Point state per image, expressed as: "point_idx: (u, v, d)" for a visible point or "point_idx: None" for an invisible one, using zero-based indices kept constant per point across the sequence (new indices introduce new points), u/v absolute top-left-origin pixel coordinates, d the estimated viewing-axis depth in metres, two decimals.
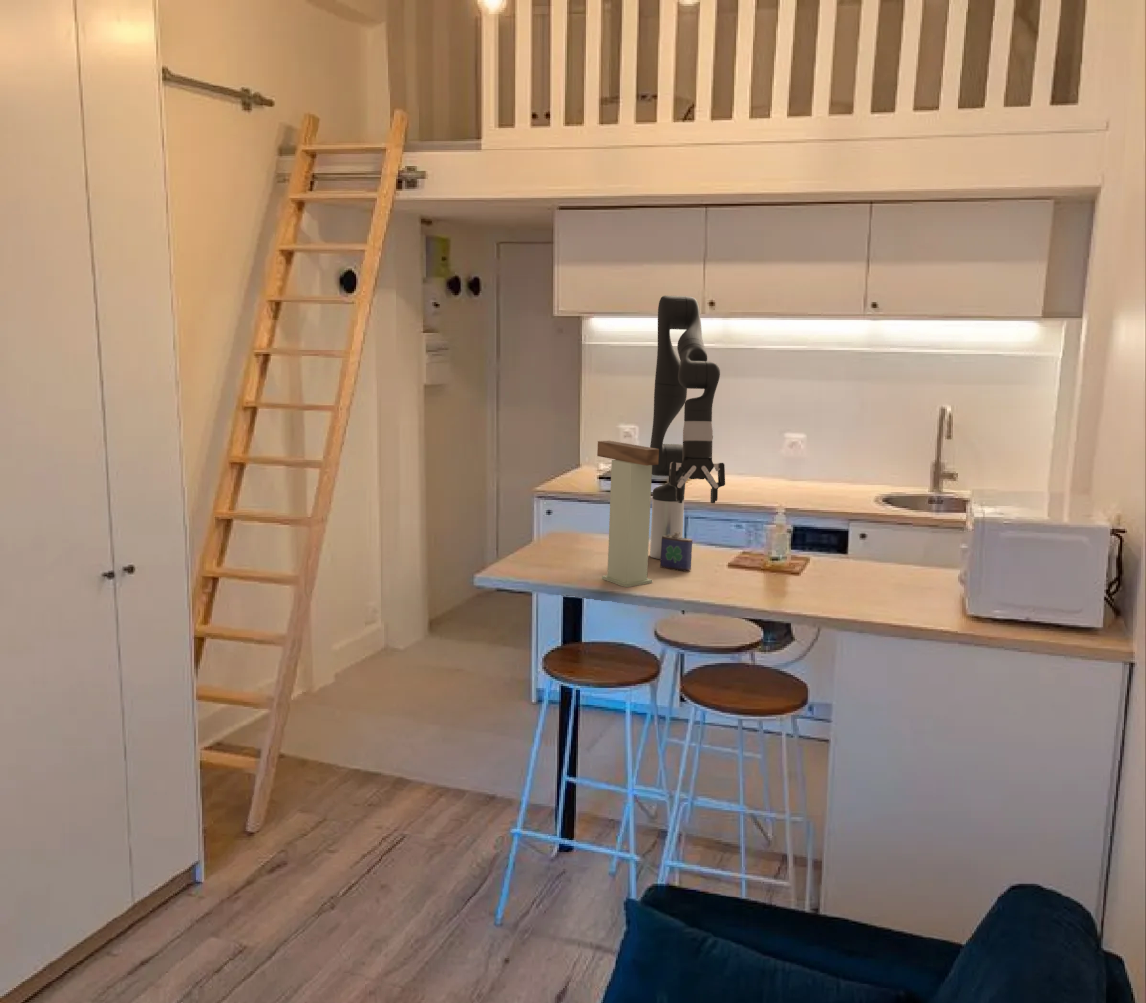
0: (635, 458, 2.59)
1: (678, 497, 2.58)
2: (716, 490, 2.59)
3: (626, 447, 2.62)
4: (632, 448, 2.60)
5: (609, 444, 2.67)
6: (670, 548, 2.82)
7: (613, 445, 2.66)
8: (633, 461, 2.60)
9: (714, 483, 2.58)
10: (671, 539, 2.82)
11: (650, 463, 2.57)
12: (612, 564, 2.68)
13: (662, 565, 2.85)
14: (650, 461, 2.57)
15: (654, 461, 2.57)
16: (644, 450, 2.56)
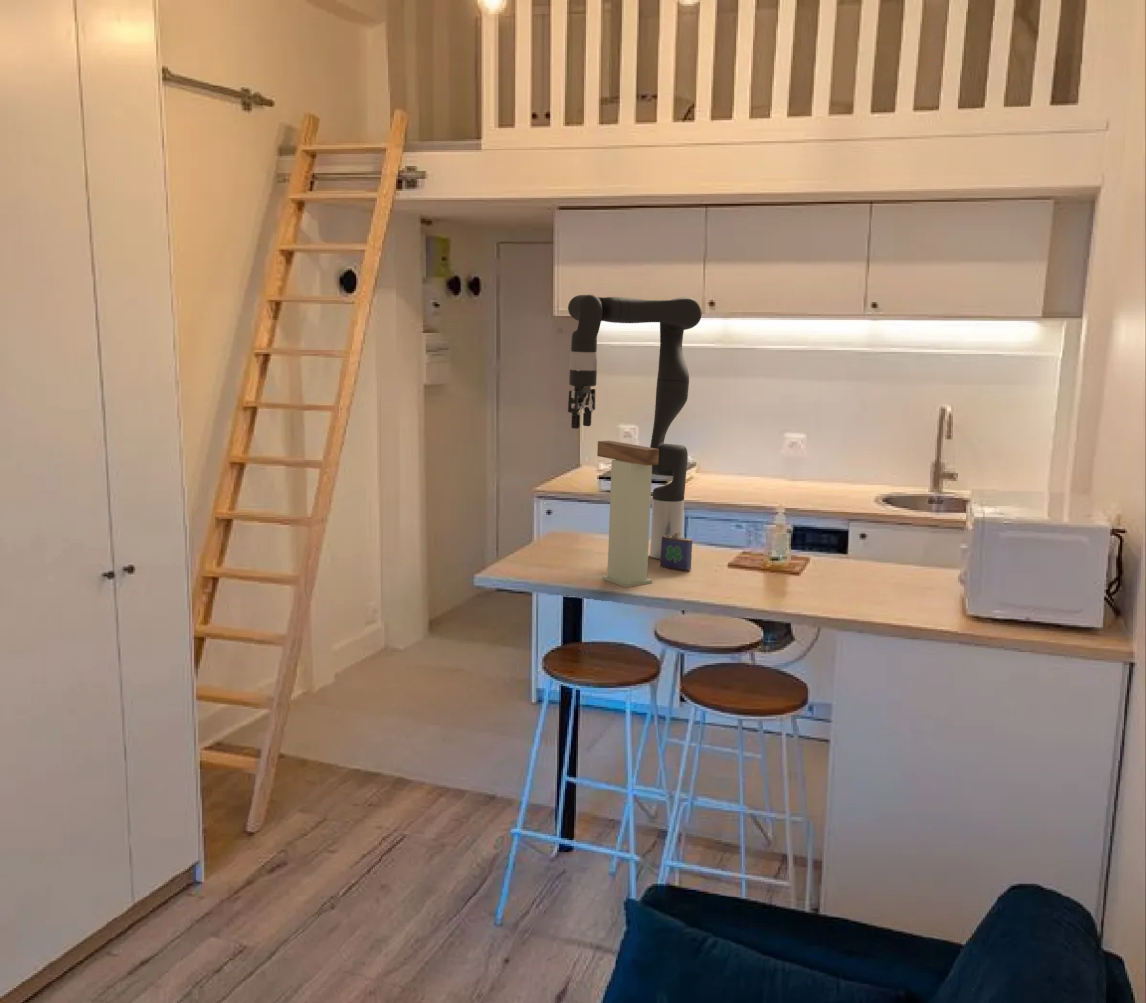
0: (635, 458, 2.59)
1: (577, 423, 2.78)
2: (590, 414, 2.86)
3: (626, 447, 2.62)
4: (632, 448, 2.60)
5: (609, 444, 2.67)
6: (670, 548, 2.82)
7: (613, 445, 2.66)
8: (633, 461, 2.60)
9: (591, 408, 2.85)
10: (671, 539, 2.82)
11: (650, 463, 2.57)
12: (612, 564, 2.68)
13: (662, 565, 2.85)
14: (650, 461, 2.57)
15: (654, 461, 2.57)
16: (644, 450, 2.56)
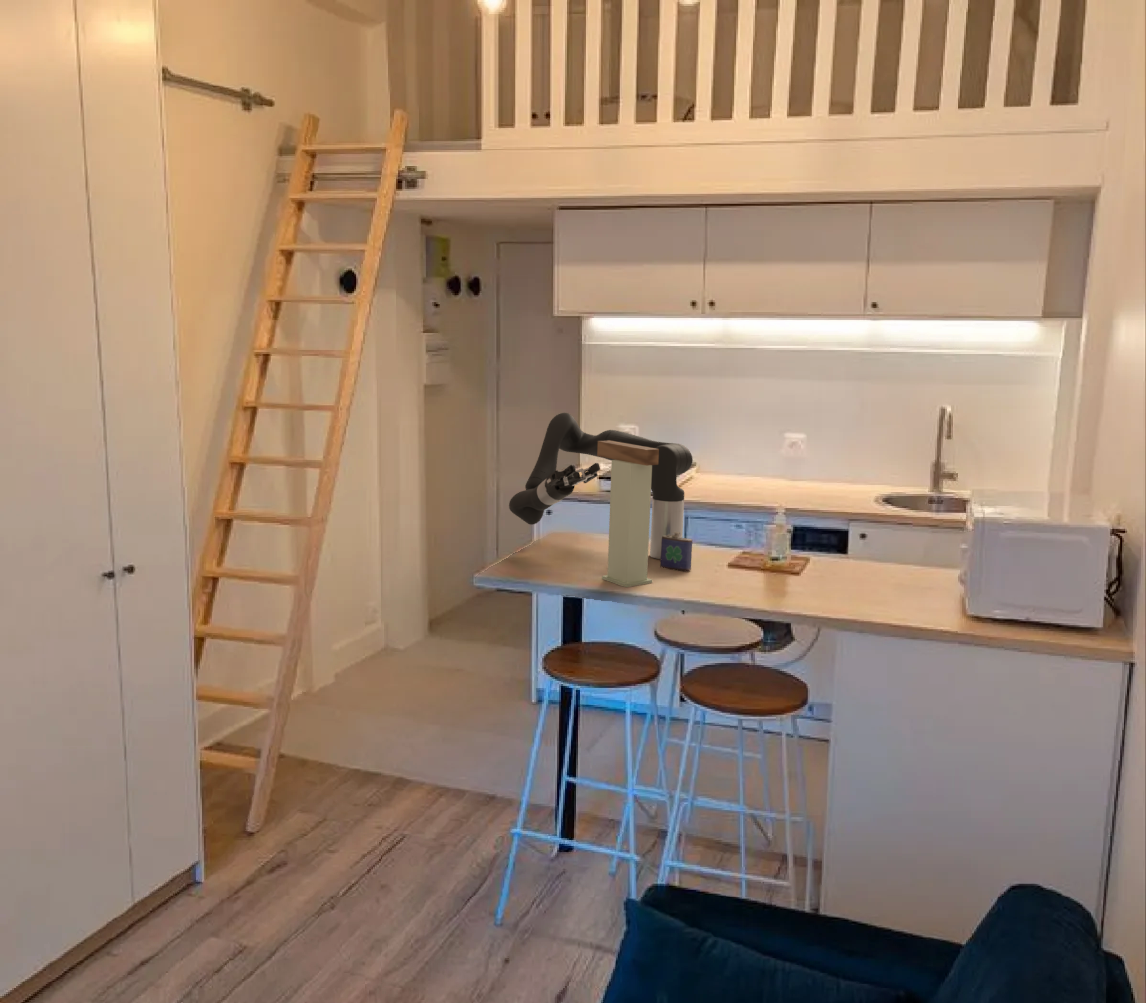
0: (635, 458, 2.59)
1: None
2: None
3: (626, 447, 2.62)
4: (632, 448, 2.60)
5: (609, 444, 2.67)
6: (670, 548, 2.82)
7: (613, 445, 2.66)
8: (633, 461, 2.60)
9: None
10: (671, 539, 2.82)
11: (650, 463, 2.57)
12: (612, 564, 2.68)
13: (662, 565, 2.85)
14: (650, 461, 2.57)
15: (654, 461, 2.57)
16: (644, 450, 2.56)
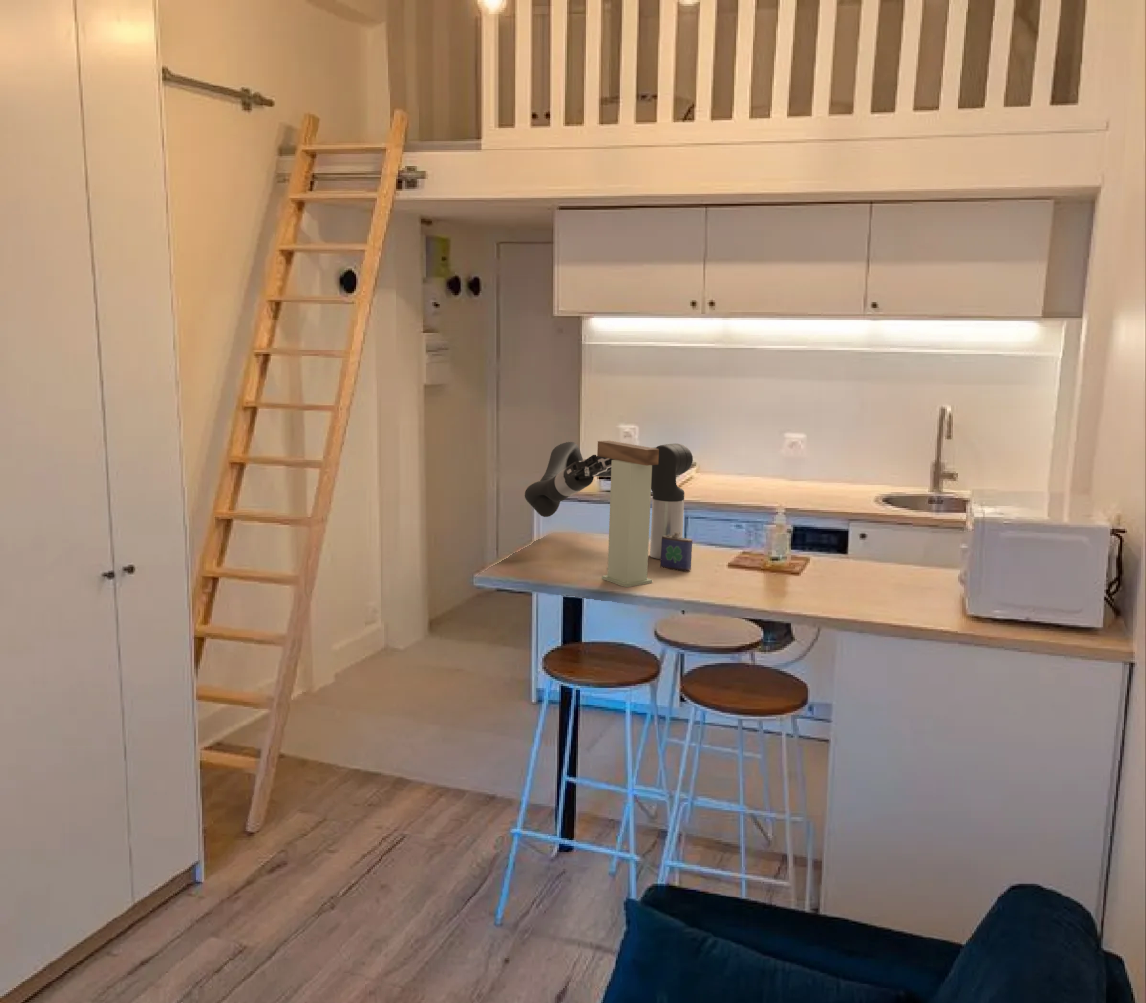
0: (635, 458, 2.59)
1: None
2: None
3: (626, 447, 2.62)
4: (632, 448, 2.60)
5: (609, 444, 2.67)
6: (670, 548, 2.82)
7: (613, 445, 2.66)
8: (633, 461, 2.60)
9: None
10: (671, 539, 2.82)
11: (650, 463, 2.57)
12: (612, 564, 2.68)
13: (662, 565, 2.85)
14: (650, 461, 2.57)
15: (654, 461, 2.57)
16: (644, 450, 2.56)
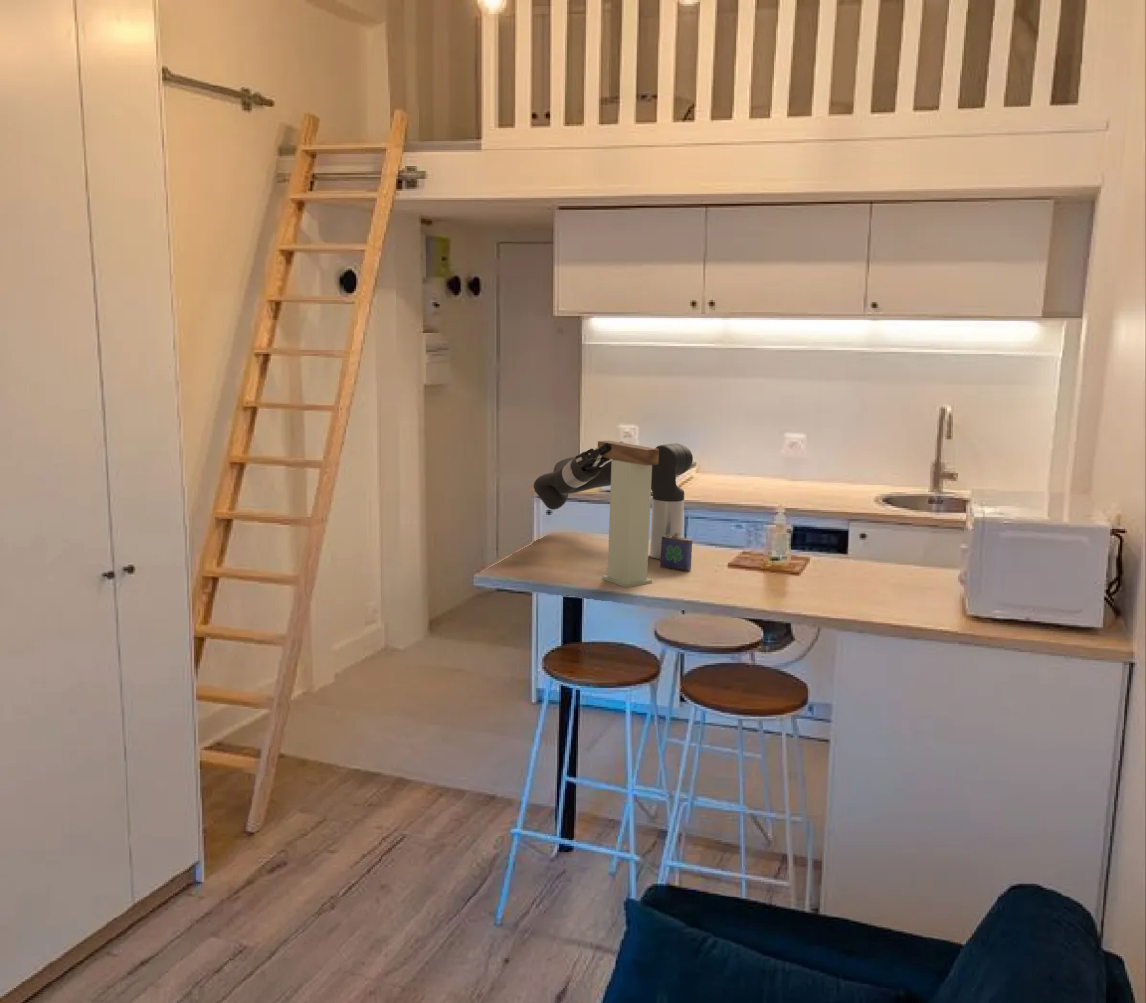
0: (635, 458, 2.59)
1: None
2: None
3: (626, 447, 2.62)
4: (632, 448, 2.60)
5: None
6: (670, 548, 2.82)
7: (613, 445, 2.66)
8: (633, 461, 2.60)
9: None
10: (671, 539, 2.82)
11: (650, 463, 2.57)
12: (612, 564, 2.68)
13: (662, 565, 2.85)
14: (650, 461, 2.57)
15: (654, 461, 2.57)
16: (644, 450, 2.56)
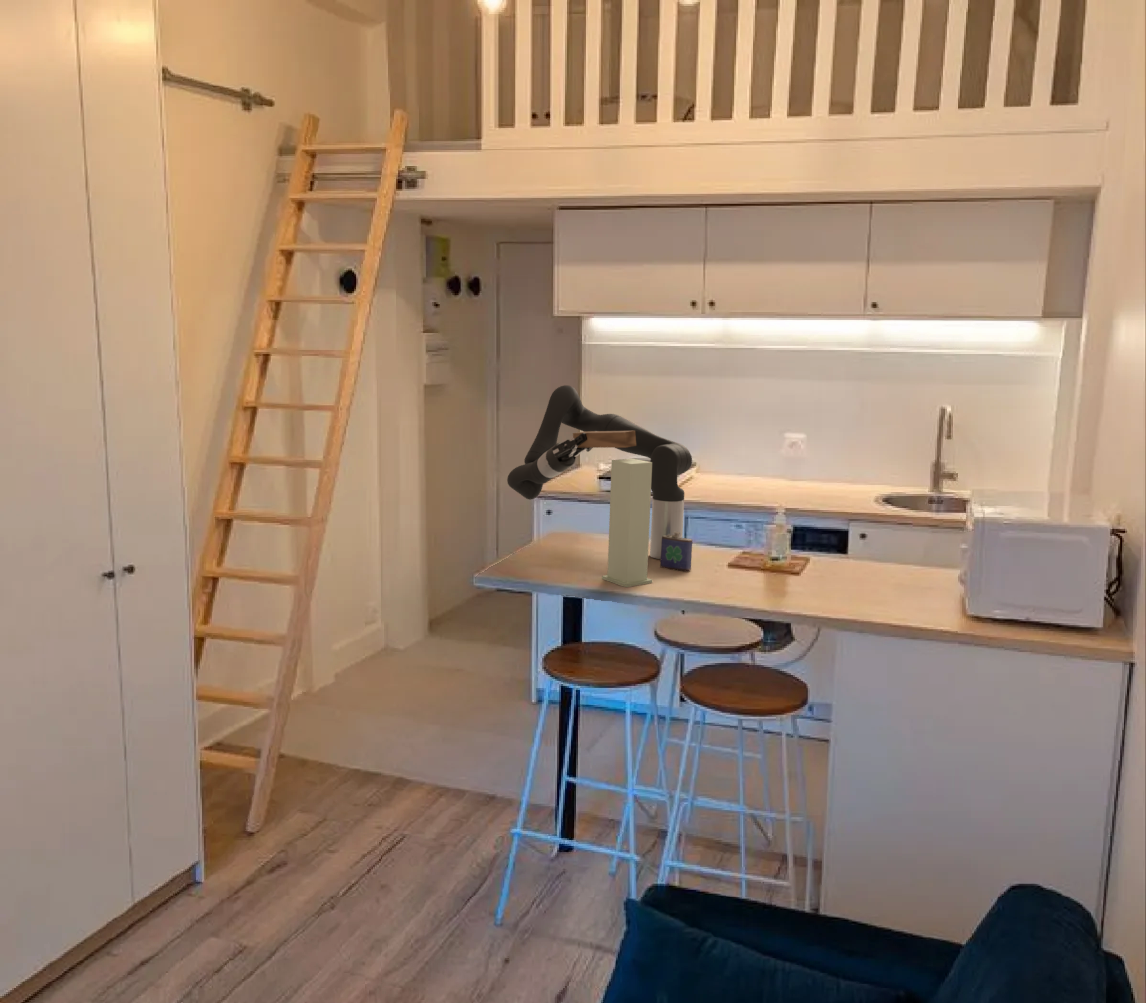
0: (613, 442, 2.69)
1: None
2: None
3: (603, 433, 2.71)
4: (609, 433, 2.69)
5: None
6: (671, 548, 2.82)
7: (589, 434, 2.75)
8: (612, 445, 2.69)
9: None
10: (671, 539, 2.82)
11: (629, 445, 2.67)
12: (612, 564, 2.68)
13: (662, 565, 2.85)
14: (629, 442, 2.66)
15: (632, 442, 2.67)
16: (622, 433, 2.66)
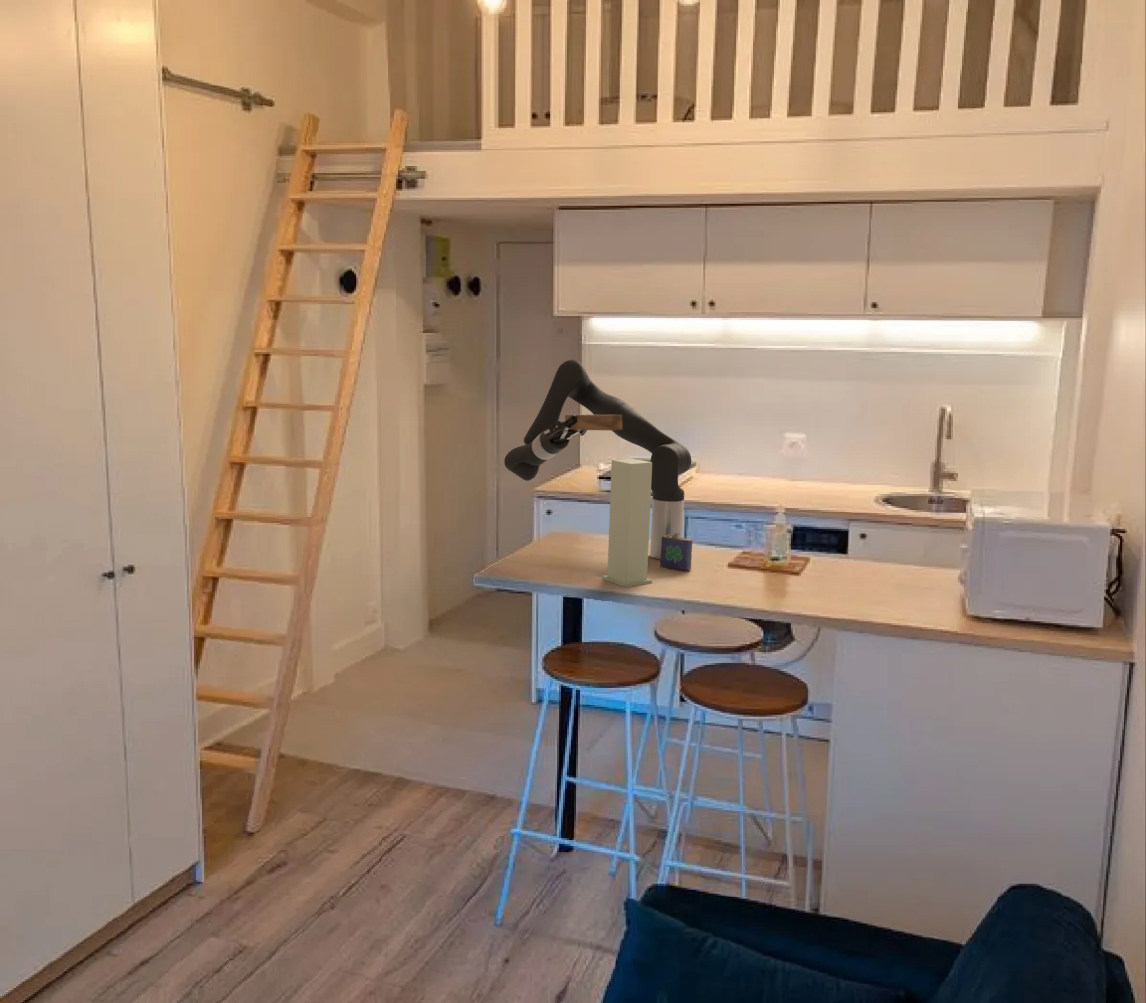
0: (599, 425, 2.70)
1: None
2: None
3: (591, 416, 2.72)
4: (597, 416, 2.70)
5: None
6: (670, 548, 2.82)
7: (579, 416, 2.76)
8: (598, 428, 2.70)
9: None
10: (671, 539, 2.82)
11: (614, 428, 2.67)
12: (612, 564, 2.68)
13: (662, 565, 2.85)
14: (614, 426, 2.67)
15: (618, 426, 2.68)
16: (608, 416, 2.67)
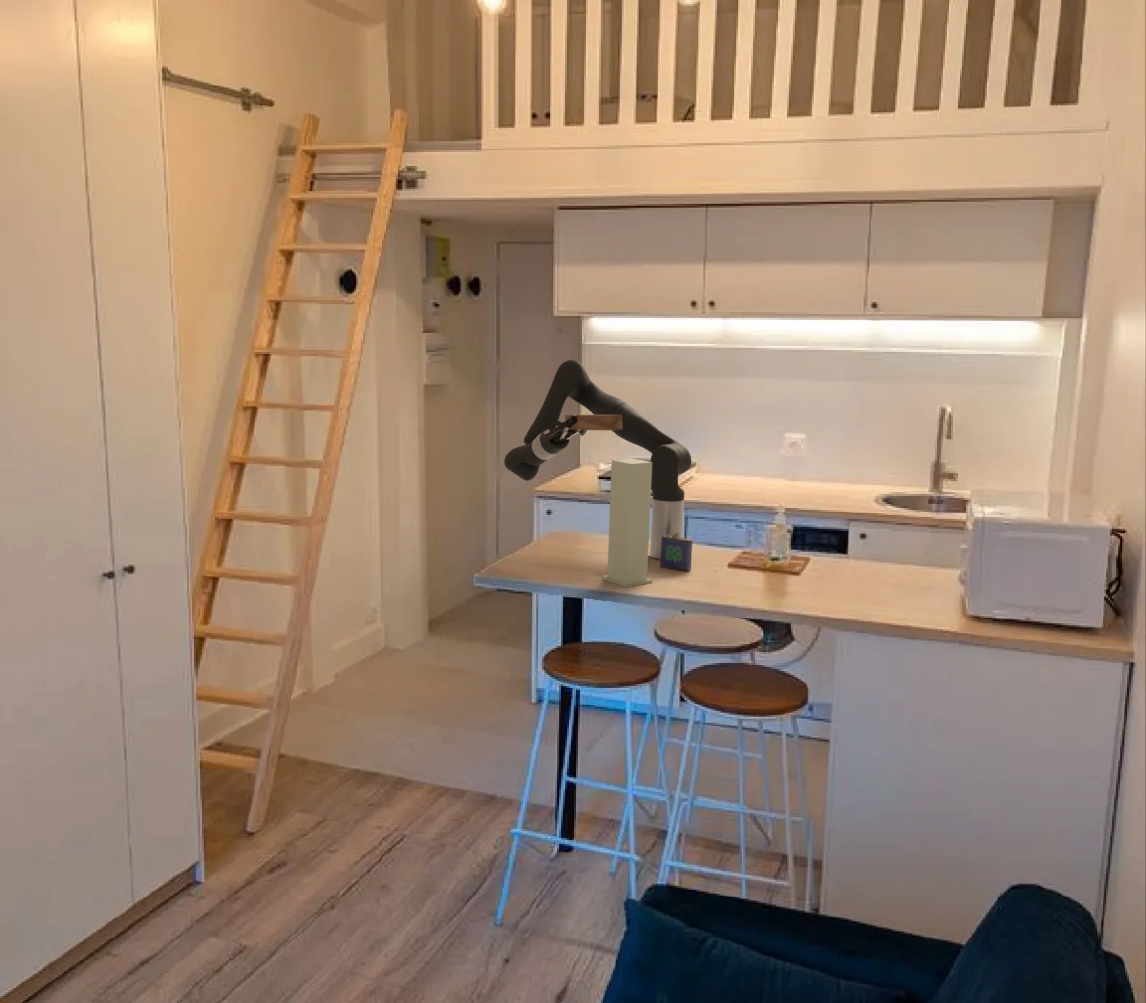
0: (599, 425, 2.70)
1: None
2: None
3: (591, 416, 2.72)
4: (597, 416, 2.70)
5: None
6: (670, 548, 2.82)
7: (579, 416, 2.76)
8: (598, 428, 2.70)
9: None
10: (671, 539, 2.82)
11: (614, 428, 2.67)
12: (612, 564, 2.68)
13: (662, 565, 2.85)
14: (614, 426, 2.67)
15: (618, 426, 2.68)
16: (608, 416, 2.67)
